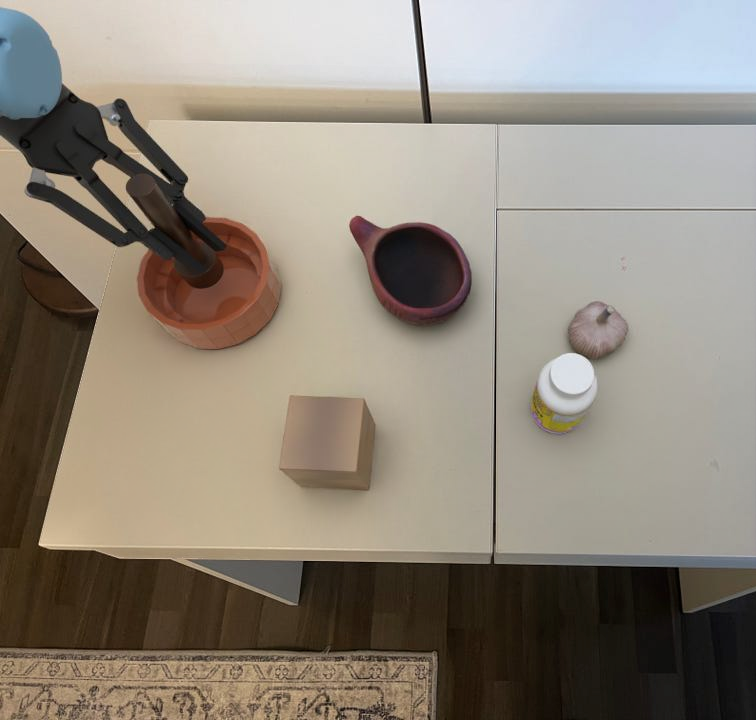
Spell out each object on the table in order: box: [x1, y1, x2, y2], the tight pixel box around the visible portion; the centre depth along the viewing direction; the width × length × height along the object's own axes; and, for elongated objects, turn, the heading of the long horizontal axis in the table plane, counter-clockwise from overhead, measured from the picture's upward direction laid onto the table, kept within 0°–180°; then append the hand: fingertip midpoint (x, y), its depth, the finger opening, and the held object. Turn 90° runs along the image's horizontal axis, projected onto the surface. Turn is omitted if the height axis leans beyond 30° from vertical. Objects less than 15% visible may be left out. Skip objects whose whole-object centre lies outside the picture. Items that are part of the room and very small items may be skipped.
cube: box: [278, 394, 376, 491], centre depth 74 cm, size 8×8×10 cm
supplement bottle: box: [530, 352, 598, 435], centre depth 75 cm, size 7×7×13 cm
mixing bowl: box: [136, 216, 282, 350], centre depth 83 cm, size 16×16×6 cm
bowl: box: [348, 215, 473, 326], centre depth 83 cm, size 16×13×8 cm
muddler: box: [125, 174, 224, 289], centre depth 72 cm, size 5×5×17 cm
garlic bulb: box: [567, 301, 629, 360], centre depth 81 cm, size 8×7×8 cm
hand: (211, 260), depth 74 cm, fingers closed on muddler, 3 cm apart
